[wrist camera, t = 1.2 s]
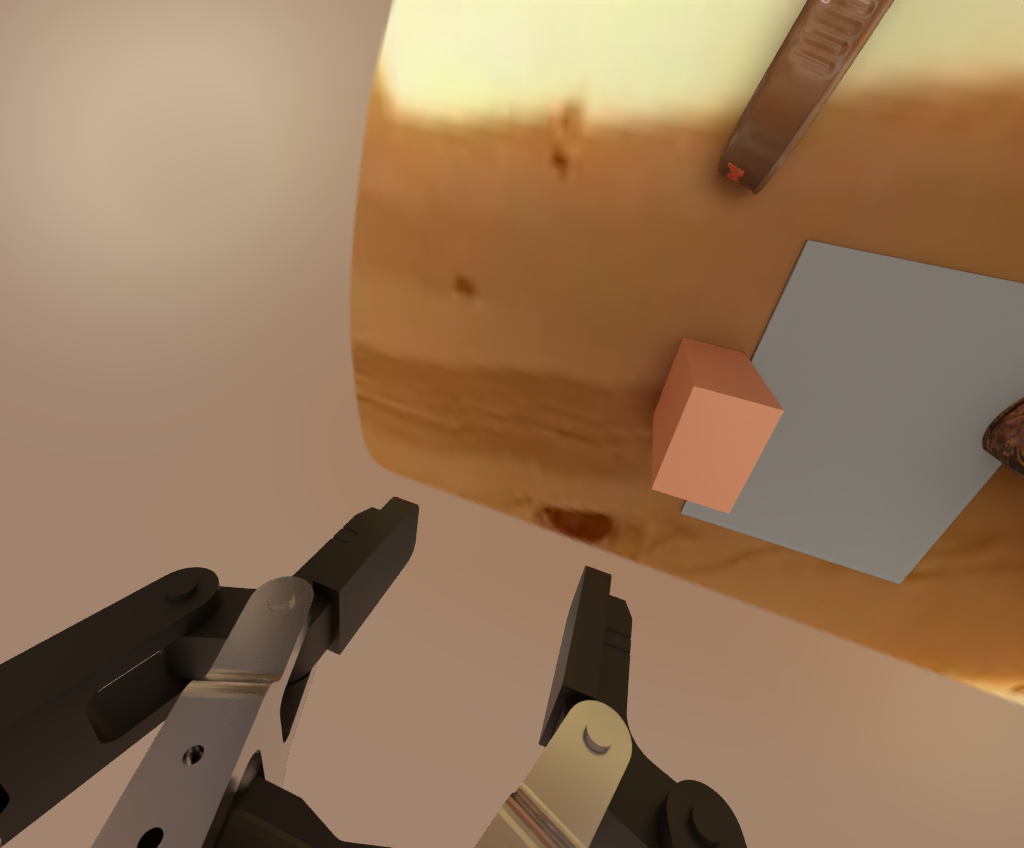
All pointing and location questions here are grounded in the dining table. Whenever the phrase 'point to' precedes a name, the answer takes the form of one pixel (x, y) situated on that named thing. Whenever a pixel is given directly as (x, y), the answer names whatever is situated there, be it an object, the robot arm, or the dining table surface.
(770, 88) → the tin
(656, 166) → the dining table surface
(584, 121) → the dining table surface
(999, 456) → the book
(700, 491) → the terracotta block
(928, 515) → the slate pad
